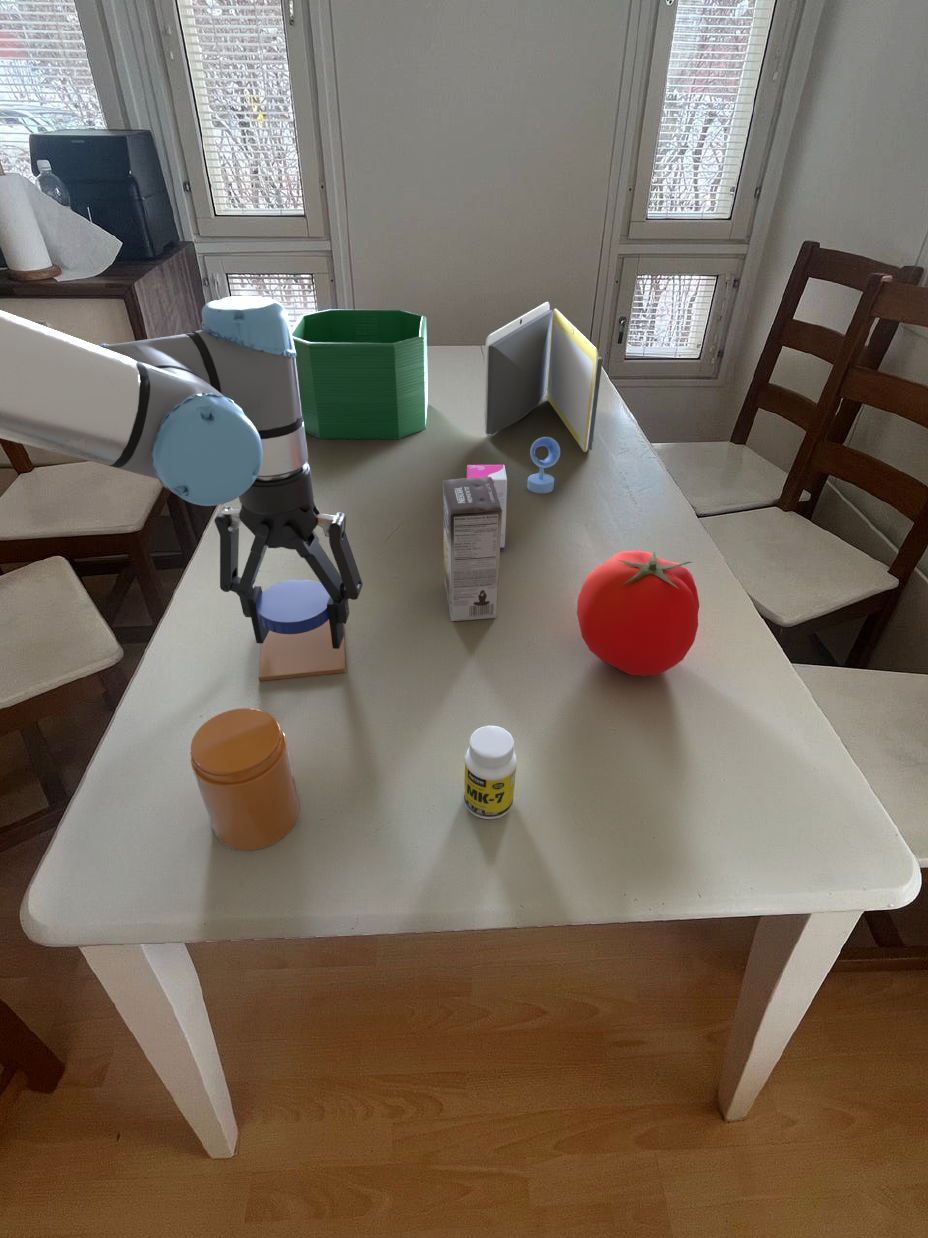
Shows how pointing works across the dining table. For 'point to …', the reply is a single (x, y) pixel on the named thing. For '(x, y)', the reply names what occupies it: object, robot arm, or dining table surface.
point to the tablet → (542, 373)
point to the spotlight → (543, 466)
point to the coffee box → (471, 547)
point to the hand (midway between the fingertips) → (300, 638)
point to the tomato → (639, 612)
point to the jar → (245, 778)
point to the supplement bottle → (490, 772)
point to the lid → (293, 606)
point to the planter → (362, 373)
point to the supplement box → (500, 485)
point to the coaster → (300, 655)
